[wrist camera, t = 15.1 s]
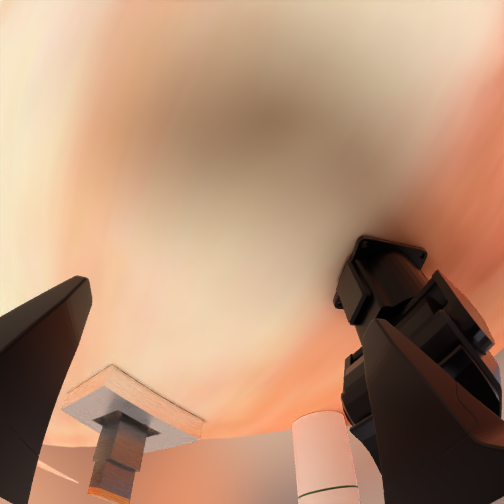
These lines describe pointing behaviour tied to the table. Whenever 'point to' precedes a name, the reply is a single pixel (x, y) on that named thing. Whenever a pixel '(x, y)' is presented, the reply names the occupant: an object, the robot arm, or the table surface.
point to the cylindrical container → (324, 460)
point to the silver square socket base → (132, 409)
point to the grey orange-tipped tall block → (117, 458)
